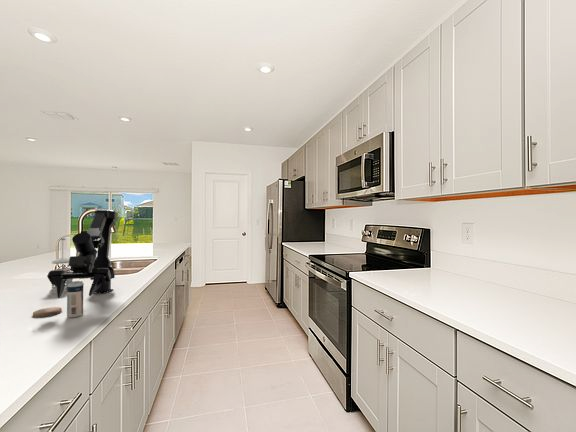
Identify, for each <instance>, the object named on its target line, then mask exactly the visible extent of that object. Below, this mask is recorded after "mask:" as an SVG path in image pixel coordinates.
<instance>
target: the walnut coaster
mask: <svg viewBox="0 0 576 432" xmlns="http://www.w3.org/2000/svg"><path fill="white" fill-rule="evenodd" d="M62 310H63V308H62V307H61V306H60V307H59V306H58V307H57V306H55V307H53V306H51V307H45V308H40V309H38V310H35V311H34V312H32V317H33V318H45V317H46V318H47V317H53V316H56V315H59V314H60V313H62Z"/></svg>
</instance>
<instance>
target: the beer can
mask: <svg viewBox="0 0 576 432" xmlns="http://www.w3.org/2000/svg"><path fill="white" fill-rule="evenodd" d="M83 315H84V282H83V281H82V280H81V281H80V280H76V281H73V282H70V283H68V285H67V292H66V317H68V318H69V319H73V318H74V319H75V318H79V317H81V316H83Z"/></svg>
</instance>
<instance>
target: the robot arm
mask: <svg viewBox="0 0 576 432" xmlns="http://www.w3.org/2000/svg"><path fill="white" fill-rule="evenodd" d="M117 219H118V212H117V211H115V209H105V208H104V209H103V208H102V209H98V208H97V209H95V210H94V216H93V219H92V222H91V224H90V226H89V229H88V230H81V231H80V232H78V233H77V234H75V235H74V236H73V237H71V240H72V243H73V246H74V248H75V250H76V253H78V256H77V255H76V256H70V257H69V258H68V259H69V263H67V265H68V266H69V268H70V271H71V272H73V273H64V271H63V270H55V269H54V270H53V269H52V270H50V271H48V274H47V275H46V277H47V279H48V280H49V282H50V284H51V285H52V284H53V285H55V286H57V293H56V294H57V295H56V296H57V298H58V299H60V298H61V297H62V295H63V293H64V292H63V290H64V287H65V285H66V284H65V282H66V279H73V280H74V279H79V280H81V279H84V280H85V279H90V281H92V283H91V286H90V288H89V293H88V296H89V297H91V296H93V294H106V293H109V292H112V291H114V289H113V288H112V287H111V285H112V280H113V279H114V278H115V277H116V275H115V269H114V267H113V264H112V262H111V260H110V258H109V257H110V255H109V254H110V253H109V252H110V243H111V235H112V233H111V231H112V228H113V227H114V226H115V225H116V222H117ZM55 286H54V287H55Z"/></svg>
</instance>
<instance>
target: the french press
mask: <svg viewBox="0 0 576 432" xmlns="http://www.w3.org/2000/svg"><path fill="white" fill-rule="evenodd" d="M60 241H61V242H62V246H61V247H62V251H61V252H62V255H61V256H62V257H60V258H56V259H54V260H52V261H51V264H56V265H57V264H61V266H62V268H57V269H54V270H63V271H64V273H73V271H71V270H70V268H71V267H70V266H68V264H69V259H70V258H68V257H64V241H66V238H65V237H60ZM64 264H67V266H66V267H65V265H64ZM73 280H74V279H66V282H65V287H64V290H63V293H67V285H68V283H70V282H74V281H73ZM48 292H49V293H51V294H57V286H55V285H53V284H51V289H50V290H49V291H48Z"/></svg>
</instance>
